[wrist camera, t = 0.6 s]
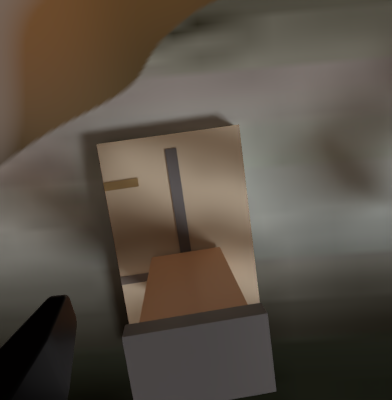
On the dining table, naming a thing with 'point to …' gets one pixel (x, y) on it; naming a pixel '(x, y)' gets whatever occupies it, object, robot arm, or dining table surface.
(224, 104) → the dining table surface
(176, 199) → the fader console
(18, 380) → the robot arm
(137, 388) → the fader tab
